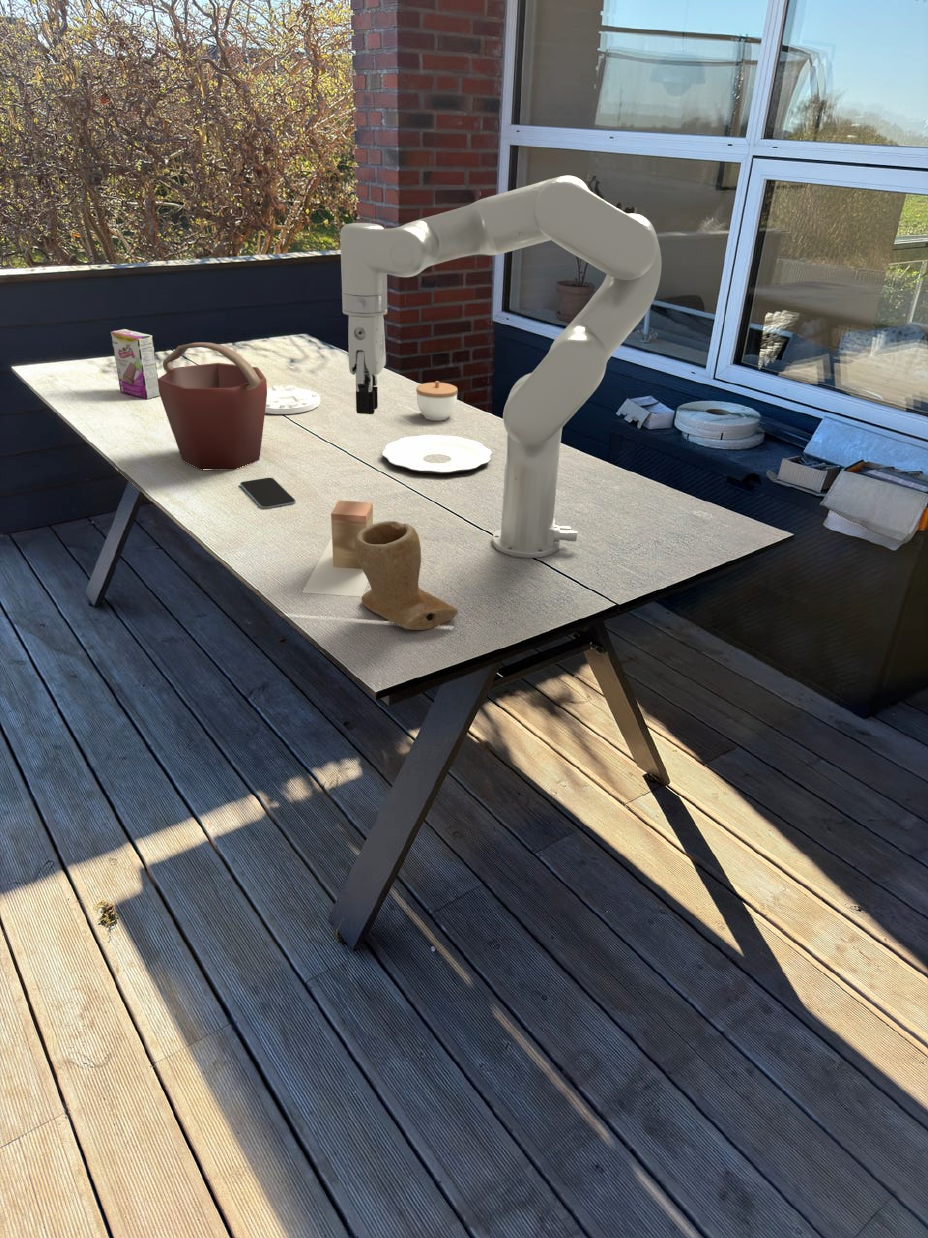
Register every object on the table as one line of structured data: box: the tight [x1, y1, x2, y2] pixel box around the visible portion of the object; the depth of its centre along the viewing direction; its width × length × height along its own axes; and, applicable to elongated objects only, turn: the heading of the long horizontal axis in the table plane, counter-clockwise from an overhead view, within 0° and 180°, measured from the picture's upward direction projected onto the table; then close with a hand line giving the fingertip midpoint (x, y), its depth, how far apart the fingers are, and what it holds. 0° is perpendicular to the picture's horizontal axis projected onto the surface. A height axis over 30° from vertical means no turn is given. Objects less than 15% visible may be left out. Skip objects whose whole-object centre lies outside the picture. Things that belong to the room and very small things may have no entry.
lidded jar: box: [415, 380, 459, 422], centre depth 232 cm, size 11×11×9 cm
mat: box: [301, 537, 369, 598], centre depth 156 cm, size 10×22×1 cm, turn 175°
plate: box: [381, 434, 493, 475], centre depth 206 cm, size 25×25×2 cm
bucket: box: [157, 341, 268, 471], centre depth 196 cm, size 24×22×25 cm
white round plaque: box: [265, 384, 321, 415], centre depth 239 cm, size 20×20×3 cm
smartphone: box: [240, 477, 296, 510], centre depth 184 cm, size 7×1×15 cm
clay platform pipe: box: [355, 520, 459, 631], centre depth 138 cm, size 15×12×15 cm
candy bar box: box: [110, 328, 160, 400], centre depth 239 cm, size 11×5×16 cm, turn 58°
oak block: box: [330, 500, 374, 569], centre depth 155 cm, size 6×6×10 cm
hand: (367, 410), depth 159 cm, fingers closed
